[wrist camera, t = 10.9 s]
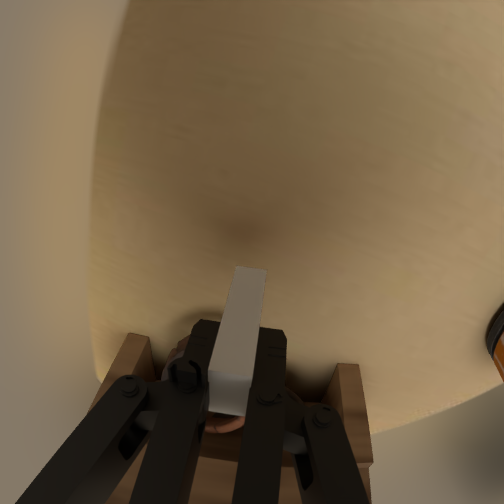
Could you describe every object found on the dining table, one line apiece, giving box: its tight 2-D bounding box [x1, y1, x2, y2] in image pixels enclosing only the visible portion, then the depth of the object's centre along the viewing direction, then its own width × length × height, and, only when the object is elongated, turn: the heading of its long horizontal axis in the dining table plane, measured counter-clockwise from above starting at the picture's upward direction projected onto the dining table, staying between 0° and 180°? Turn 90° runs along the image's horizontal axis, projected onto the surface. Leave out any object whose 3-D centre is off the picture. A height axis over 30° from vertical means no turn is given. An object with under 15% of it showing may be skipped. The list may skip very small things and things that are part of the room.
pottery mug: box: [161, 335, 304, 433], centre depth 25 cm, size 12×9×8 cm
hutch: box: [87, 333, 373, 504], centre depth 23 cm, size 10×21×16 cm, turn 85°
